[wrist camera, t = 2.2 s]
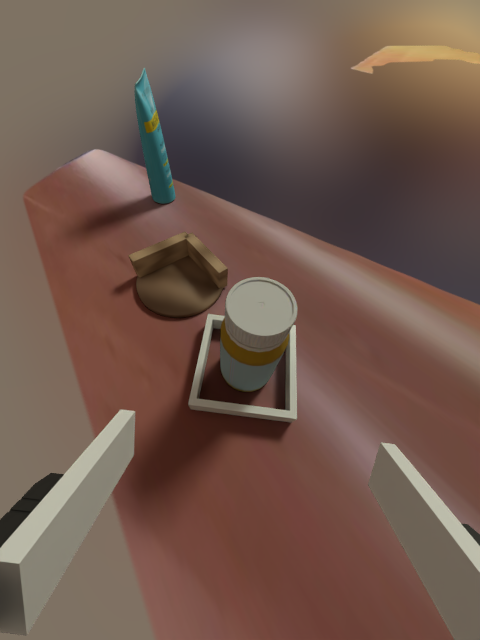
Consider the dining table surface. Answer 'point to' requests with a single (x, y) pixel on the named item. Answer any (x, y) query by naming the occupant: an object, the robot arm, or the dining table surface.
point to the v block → (178, 276)
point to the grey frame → (240, 409)
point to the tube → (153, 143)
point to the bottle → (255, 331)
